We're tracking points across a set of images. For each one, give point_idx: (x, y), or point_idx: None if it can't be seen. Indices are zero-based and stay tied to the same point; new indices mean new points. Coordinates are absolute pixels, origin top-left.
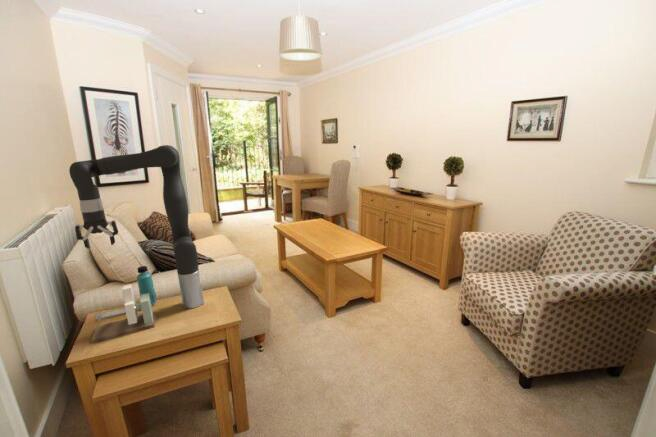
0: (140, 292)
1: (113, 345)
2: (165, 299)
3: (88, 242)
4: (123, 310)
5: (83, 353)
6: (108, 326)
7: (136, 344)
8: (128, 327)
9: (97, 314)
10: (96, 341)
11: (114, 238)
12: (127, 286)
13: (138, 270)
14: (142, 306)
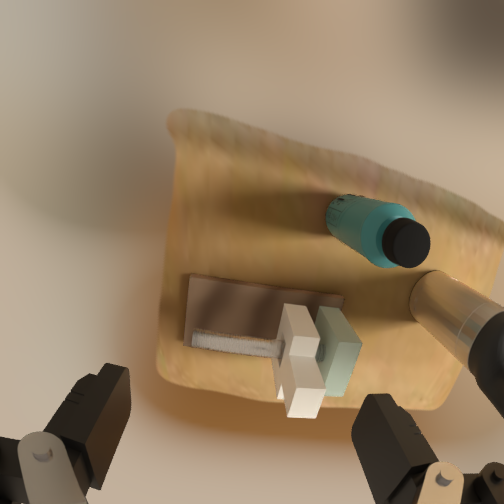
0: (341, 233)
1: (230, 377)
2: None
3: (106, 432)
4: (269, 357)
5: (171, 367)
6: (220, 301)
7: (274, 400)
8: None
9: (196, 341)
10: None
11: (422, 445)
12: (309, 400)
13: (390, 255)
14: None
